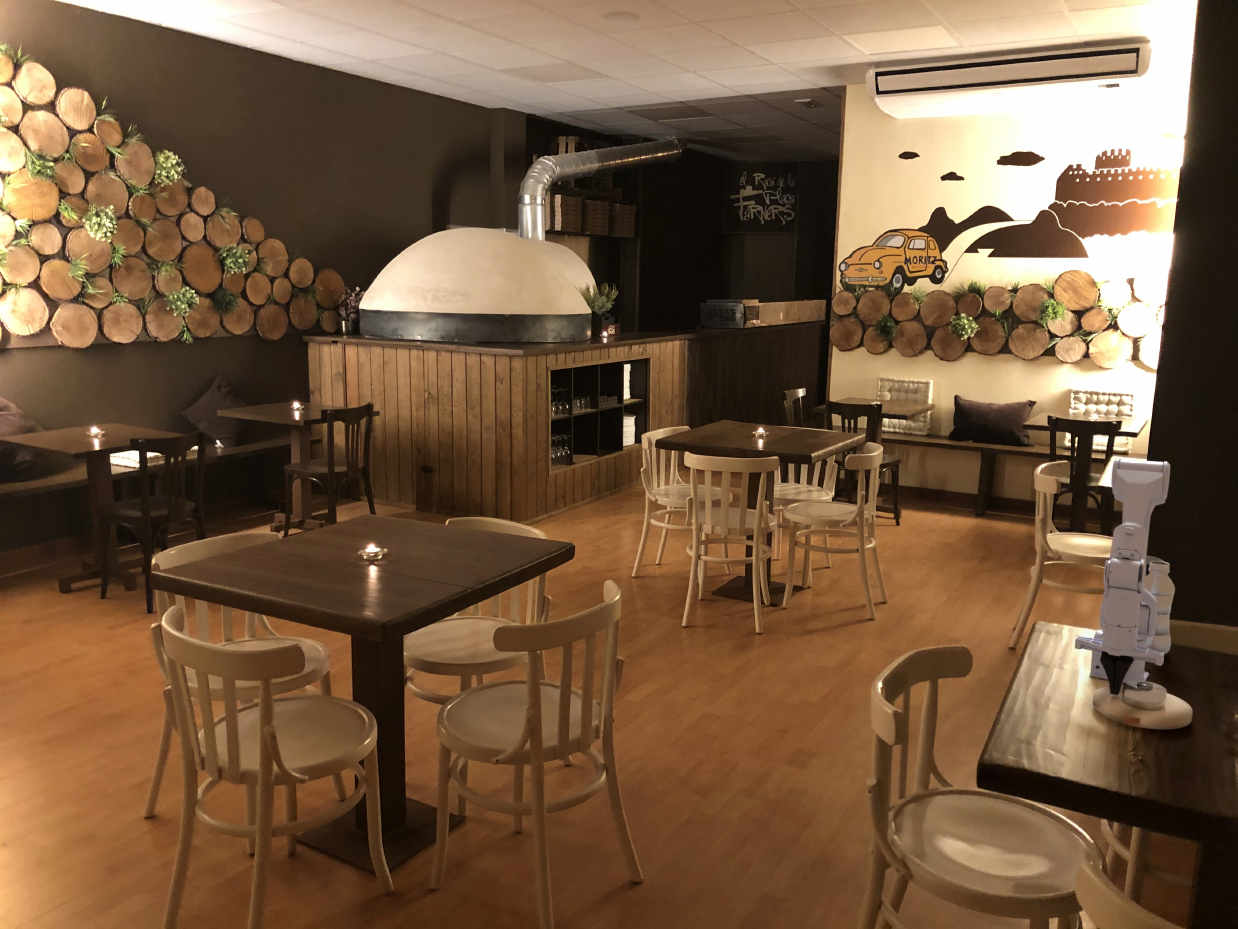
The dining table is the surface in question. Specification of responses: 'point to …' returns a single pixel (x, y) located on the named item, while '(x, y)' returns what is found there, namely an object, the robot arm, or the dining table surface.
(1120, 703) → the turntable
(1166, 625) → the plastic bottle
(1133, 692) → the cover
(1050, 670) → the dining table surface
